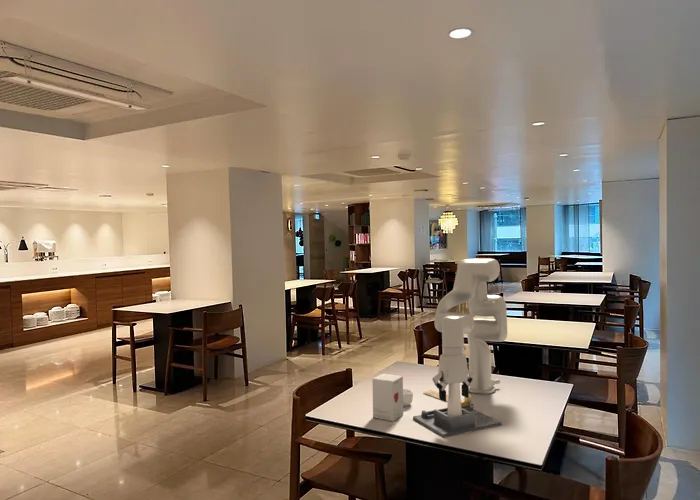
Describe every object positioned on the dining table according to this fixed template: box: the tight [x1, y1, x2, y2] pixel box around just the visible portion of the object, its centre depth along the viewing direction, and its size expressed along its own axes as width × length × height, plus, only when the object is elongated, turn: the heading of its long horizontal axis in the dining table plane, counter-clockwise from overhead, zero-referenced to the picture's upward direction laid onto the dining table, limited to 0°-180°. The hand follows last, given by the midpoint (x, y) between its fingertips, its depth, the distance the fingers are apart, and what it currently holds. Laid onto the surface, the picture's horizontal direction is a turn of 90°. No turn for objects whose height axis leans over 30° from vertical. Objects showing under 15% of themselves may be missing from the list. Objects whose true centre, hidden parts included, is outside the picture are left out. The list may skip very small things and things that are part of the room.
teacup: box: [403, 388, 414, 407], centre depth 200 cm, size 10×8×5 cm
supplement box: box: [371, 373, 404, 422], centre depth 186 cm, size 9×9×15 cm
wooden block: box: [446, 394, 472, 408], centre depth 188 cm, size 10×2×5 cm, turn 114°
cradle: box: [412, 406, 503, 438], centre depth 179 cm, size 25×20×5 cm
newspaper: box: [422, 389, 474, 406], centre depth 205 cm, size 24×7×2 cm, turn 33°
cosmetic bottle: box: [447, 383, 462, 417], centre depth 175 cm, size 6×6×22 cm
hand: (454, 398), depth 175 cm, fingers open, 9 cm apart
